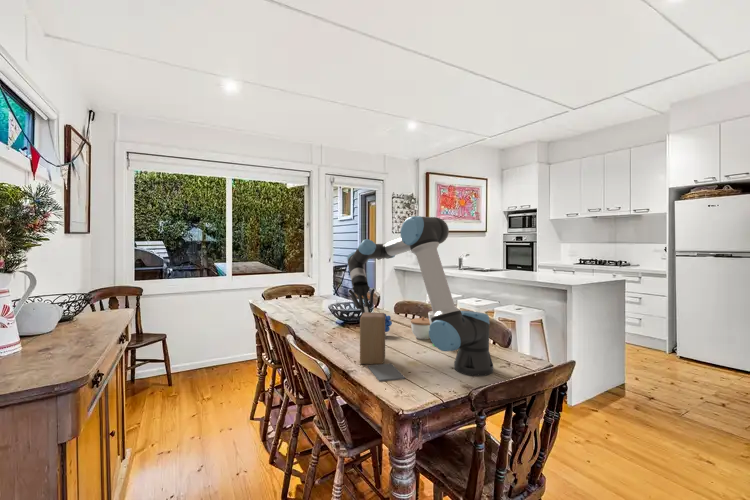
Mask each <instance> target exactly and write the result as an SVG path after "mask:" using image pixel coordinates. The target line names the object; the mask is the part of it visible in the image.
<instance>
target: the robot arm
mask: <svg viewBox="0 0 750 500" xmlns="http://www.w3.org/2000/svg"><path fill="white" fill-rule="evenodd" d="M401 224H402V226H401V227H400V237H397V238H395V239H392V240H390V241H387V242H384V243H375V242H374V241H373V240H371V239H367V238H366V239H362V242H361V243H359V245H358V247H357V248H356V250H355V251H353V252H351V253H350V254H348V255H347V258H346V259H347V260H346V261H347V266H348V270H349V275H350V276H349V277H350V281H351V285H352V289H348V295H349V296H350V297H351V300H352V302H353V304H354V306H355V308H356V309H357V310H359V311H360V312H361V315H362V314H363V313H364V312H371V309H373V305H374V294H375V288H373V289H372V288H371V287H370V286H369V283H368V278H367V274H366V270H365V265H366V264H367V263H368V261H369V260H378V259H392V258H393V259H394V258H395V256H398V255H400V254H403V253H407V252H409V251H410V252H411V254H413V255H415V256H416V259H417V262H418V266H419V269H420V271H421V276H422V280H423V282H424V287H425V289H426V292H427V295H428V299H429V303H430V306H431V311H433V315H432V317H431V321H432V324H431V325H430V327H429V328H430V329H429V337H430V338H429V339H430V342H431V343H432V345H433V344H434V346H435V347H434V346H433V347H434V348H437V349H438V350H439V351H442V352H453V351H454V352H455V351H457V350H458V351H457V353H456V356H455V360H454V363H453V364H454V366H453V368H454V370H455V371H456V372H458V373H461V374H463V375H467V376H477V377H482V376H488V375H492V374H493V373H494V362H493V361H492V357H491V353H490V325H491V323H490V316H489V315H488V314H487V313H485V312H480V311H475V310H461V309H459V308H458V307H457V306H455V301H454V299H453V296H452V293H451V290H450V287H449V284H448V279H447V277H446V273H445V271H444V267H443V264H442V262H441V261H442V260H441V258H440V255H439V252H438V248H439V246H440V244H443V243H444V242H445V241H446V240H447V239H448V236H449V226H448V224H447V222H446V221H445V220H444V219H442V218H439V217H434V216H420V215H415V216H414V215H413V216H409V217H407V218H406V219H405V220H404V221H403V223H401ZM368 293H369V298H368ZM364 305H365V306H364Z"/></svg>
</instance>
